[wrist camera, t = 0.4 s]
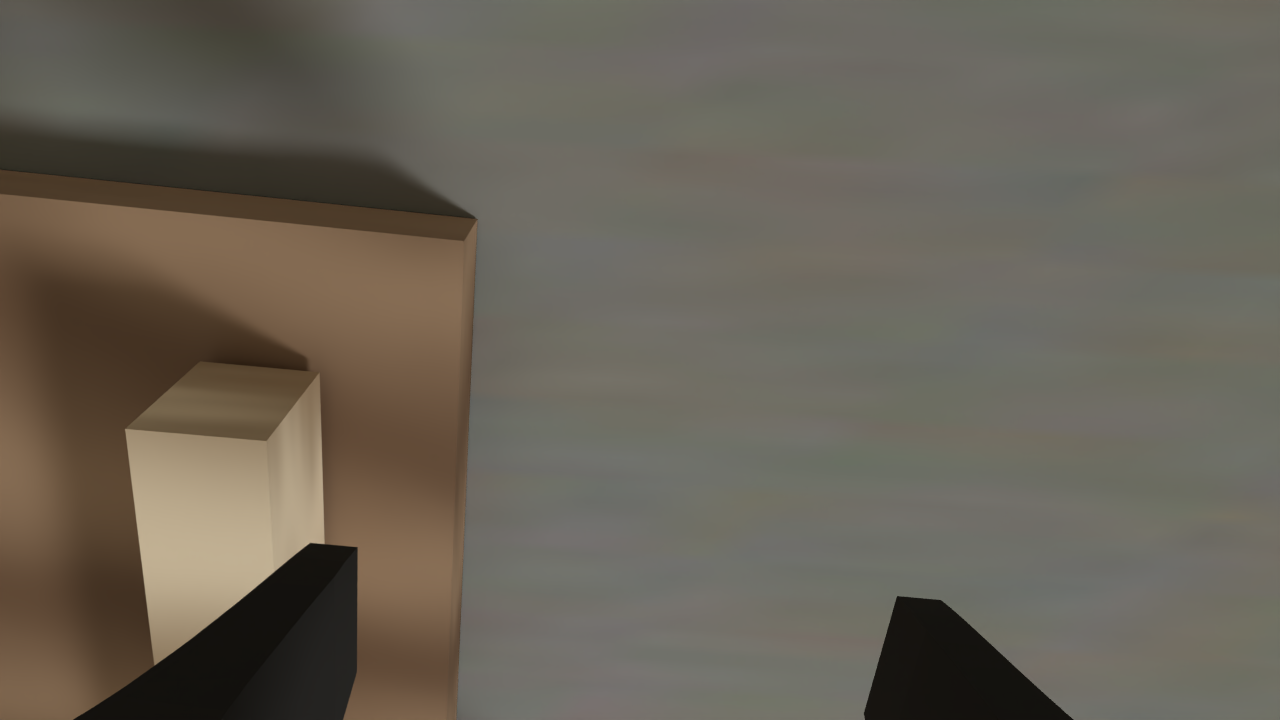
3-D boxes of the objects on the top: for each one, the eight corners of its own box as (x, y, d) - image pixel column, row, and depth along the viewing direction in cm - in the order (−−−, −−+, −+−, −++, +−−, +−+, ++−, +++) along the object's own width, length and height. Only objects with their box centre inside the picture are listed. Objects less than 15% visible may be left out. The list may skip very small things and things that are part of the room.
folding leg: (349, 869, 24) (314, 984, 21) (227, 862, 24) (175, 977, 21) (339, 374, 18) (290, 443, 16) (179, 359, 18) (101, 427, 15)
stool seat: (450, 866, 27) (417, 1038, 23) (-249, 825, 26) (-429, 999, 21) (477, 219, 19) (435, 288, 15) (-517, 115, 18) (-885, 159, 14)
